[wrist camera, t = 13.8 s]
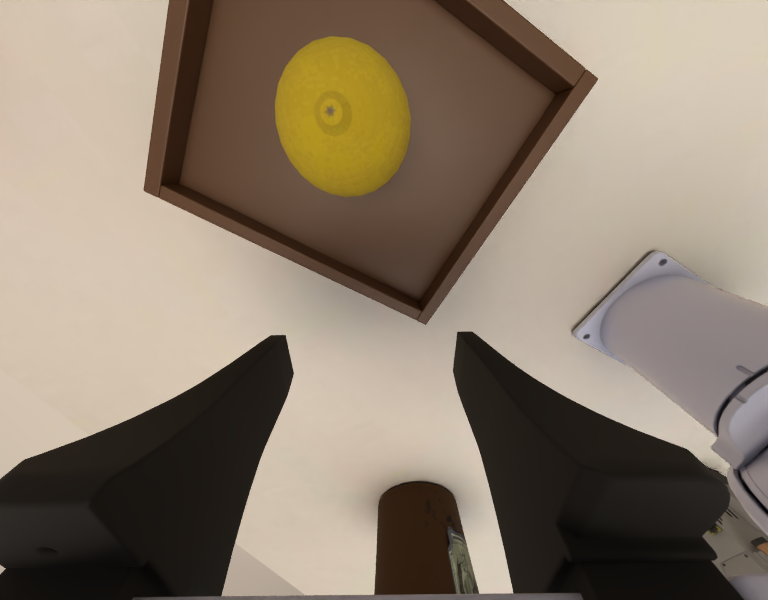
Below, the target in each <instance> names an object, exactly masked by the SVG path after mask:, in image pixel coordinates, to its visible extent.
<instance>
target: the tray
mask: <svg viewBox="0 0 768 600" xmlns="http://www.w3.org/2000/svg"><path fill="white" fill-rule="evenodd" d="M330 36H335V37H348V38H352V39H355V40H357V41H360V42H362V43H364V44H367V45H369V46H370V47H371V48H373V49H374V50H375V51H376V52H378V53H379V54H380V55H381V56H382V57H384V58H385V59H386V60H387V62H388V63H389V64H390V66H391V67H392V68H393V70H394V71H395V73H396V74H397V75H398V77H399V79H400V81H401V84H402V86H403V88H404V91H405V93H406V95H407V100H408V105H409V111H410V116H411V126H410V139H409V143H408V147H407V151H406V155H405V157H404V159H403V161H402V163H401V165H400V167H399V169H398V171H397V172H396V173H395V174H394V175H393V176H392V177H391V179H390V180H389V181H388V182H387V183H386V184H384V185H383V186H381V187H380V188H378V189H377V190H376V191H373V192H370V193H368V194H365V195H362V196H353V197H343V196H338V195H333V194H329V193H327V192H325V191H323V190H321V189H319V188H317V187H315V186H314V185H313V184H311V183H310V182H309V181H308V180H306V179H305V178H304V177H303V176H302V175H301V174H300V173H299V172H298V170H297V169H296V168H295V167H294V165H293V164H292V163H291V162H290V160H289V158H288V156H287V154H286V152H285V150H284V148H283V146H282V144H281V142H280V138H279V134H278V130H277V126H276V118H275V99H276V93H277V88H278V83H279V81H280V78H281V76H282V74H283V72H284V69H285V67H286V65H287V64H288V63H289V61H290V60H291V59H292V58H293V57H294V55H295V54H296V53H297V52H298V51H299V50H300V49H302V48H303V47H305V46H306V45H308V44H309V43H311V42H312V41H314V40H318V39H322V38H326V37H330ZM597 80H598V78H597V77H596V76H594V75H593V74H592V73H591V72H590V71H588V70H585V68H584V67H583V66H582V65H581V64H580V63H578V62H577V61H576V60H575V59H573V58H572V57H571V56H570V55H569V54H567V53H566V52H565V51H564V50H563V49H561V48H560V47H559V46H558V45H557V44H555V43H554V42H553V41H552V40H551V39H549V38H548V37H547V36H546V35H544V34H543V33H542V32H541V31H540V30H538V29H537V28H536V27H535V26H534V25H532V24H531V23H530V22H529V21H528V20H526V19H525V18H524V17H523V16H521V15H520V14H519V13H518V12H517V11H515V10H514V9H513V8H512V7H511V6H509V5H508V4H507V3H506V2H505V1H503V0H169V6H168V13H167V21H166V28H165V36H164V43H163V50H162V58H161V65H160V73H159V80H158V88H157V95H156V102H155V110H154V117H153V125H152V132H151V140H150V147H149V155H148V162H147V169H146V177H145V184H144V191H145V192H147V193H149V194H152V195H154V196H156V197H159V198H160V199H162V200H164V201H167V202H169V203H171V204H173V205H175V206H177V207H179V208H181V209H183V210H186V211H188V212H190V213H192V214H194V215H196V216H198V217H200V218H202V219H204V220H207V221H209V222H211V223H213V224H215V225H217V226H219V227H221V228H223V229H226V230H228V231H230V232H232V233H234V234H236V235H238V236H240V237H242V238H245V239H247V240H249V241H251V242H253V243H255V244H257V245H259V246H261V247H263V248H266V249H268V250H270V251H272V252H274V253H276V254H278V255H280V256H282V257H285V258H287V259H289V260H291V261H293V262H295V263H297V264H299V265H301V266H304V267H306V268H308V269H310V270H312V271H314V272H316V273H318V274H320V275H322V276H325V277H327V278H329V279H331V280H333V281H335V282H337V283H339V284H341V285H344V286H346V287H348V288H350V289H352V290H354V291H356V292H358V293H360V294H363V295H365V296H367V297H369V298H371V299H373V300H375V301H377V302H379V303H382V304H384V305H386V306H388V307H390V308H392V309H394V310H396V311H398V312H400V313H403V314H405V315H407V316H409V317H411V318H413V319H415V320H417V321H419V322H421V323H423V324H425V325H426V324H427V323H428V321H429V320H430V318H431V317H432V315H433V314H434V313H435V311H436V310H437V308H438V307H439V306H440V304H441V303H442V301H443V300H444V298H445V297H446V296H447V294H448V293H449V291H450V290H451V288H452V287H453V286H454V284H455V283H456V281H457V280H458V278H459V277H460V276H461V274H462V273H463V271H464V270H465V268H466V267H467V266H468V264H469V263H470V261H471V260H472V258H473V257H474V256H475V254H476V253H477V251H478V250H479V248H480V247H481V246H482V244H483V243H484V241H485V240H486V238H487V237H488V236H489V234H490V233H491V231H492V230H493V228H494V227H495V226H496V224H497V223H498V221H499V220H500V219H501V217H502V216H503V214H504V213H505V211H506V210H507V209H508V207H509V206H510V204H511V203H512V201H513V200H514V199H515V197H516V196H517V194H518V193H519V191H520V190H521V189H522V187H523V186H524V184H525V183H526V181H527V180H528V179H529V177H530V176H531V174H532V173H533V171H534V170H535V169H536V167H537V166H538V164H539V163H540V161H541V160H542V159H543V157H544V156H545V154H546V153H547V151H548V150H549V149H550V147H551V146H552V144H553V143H554V141H555V140H556V139H557V137H558V136H559V134H560V133H561V132H562V130H563V129H564V127H565V126H566V124H567V123H568V122H569V120H570V119H571V117H572V116H573V114H574V113H575V112H576V110H577V109H578V107H579V106H580V104H581V103H582V102H583V100H584V99H585V97H586V96H587V94H588V93H589V92H590V90H591V89H592V87H593V86H594V84H595V83H596V82H597Z"/></svg>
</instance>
